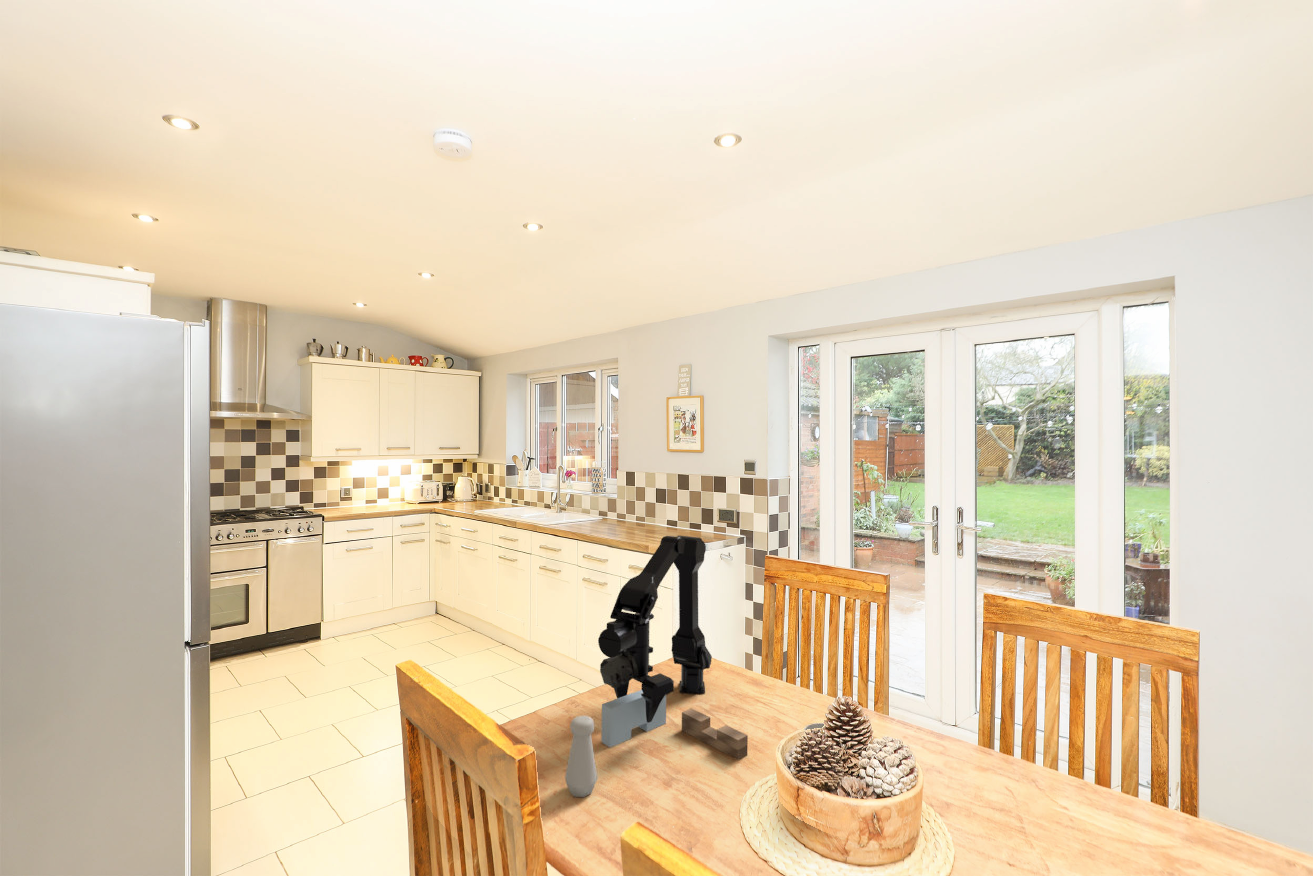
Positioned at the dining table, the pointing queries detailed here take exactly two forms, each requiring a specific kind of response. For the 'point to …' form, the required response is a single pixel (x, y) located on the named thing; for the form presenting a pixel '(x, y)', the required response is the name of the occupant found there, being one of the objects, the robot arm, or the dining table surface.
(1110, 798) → the dining table surface
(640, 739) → the dining table surface
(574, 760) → the salt shaker
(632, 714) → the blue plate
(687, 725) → the walnut rail
